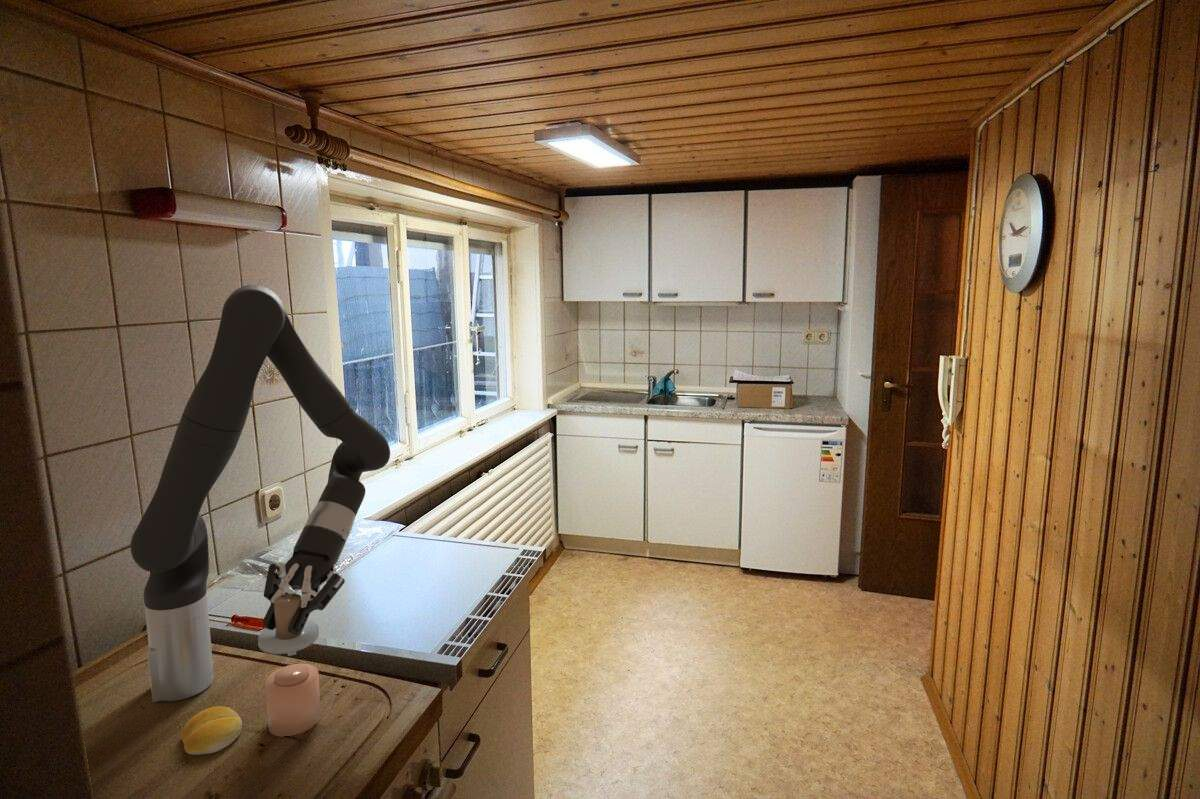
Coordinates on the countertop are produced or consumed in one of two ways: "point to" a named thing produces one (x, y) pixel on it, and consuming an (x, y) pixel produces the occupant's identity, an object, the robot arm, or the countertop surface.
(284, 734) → the canister
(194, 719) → the bread roll
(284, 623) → the lid
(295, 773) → the countertop surface
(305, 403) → the robot arm
